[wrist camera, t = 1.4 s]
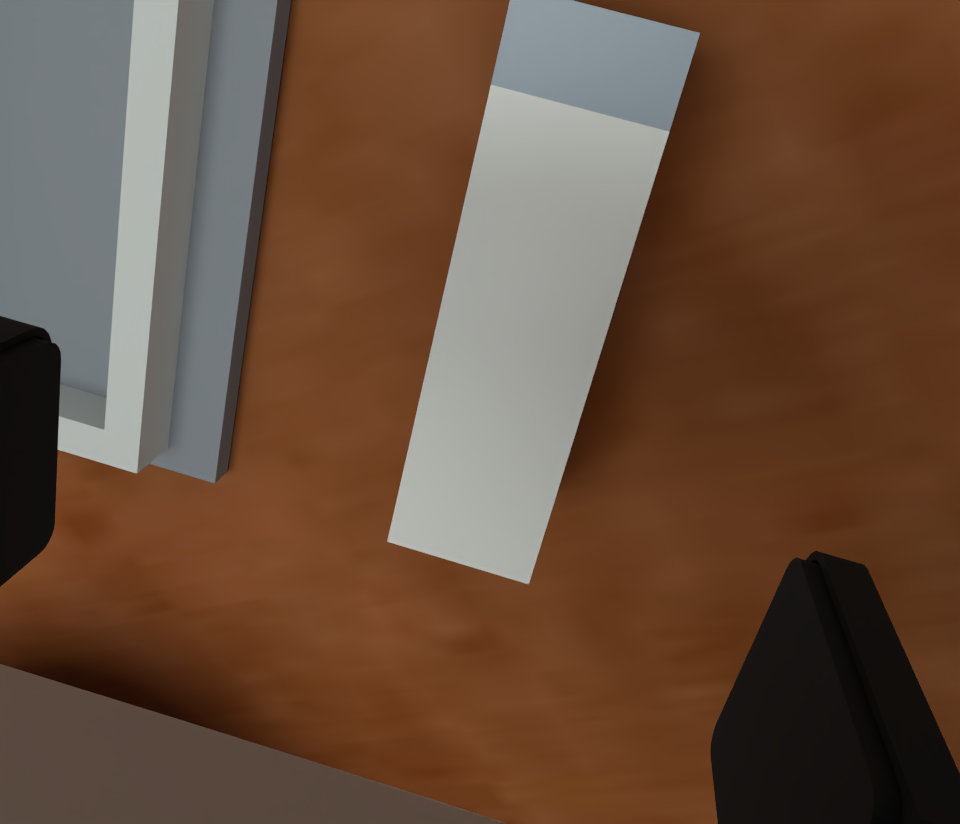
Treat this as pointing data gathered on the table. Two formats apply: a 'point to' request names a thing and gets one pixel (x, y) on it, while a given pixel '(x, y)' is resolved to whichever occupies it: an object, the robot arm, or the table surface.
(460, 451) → the butter block
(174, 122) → the tray
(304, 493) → the table surface
